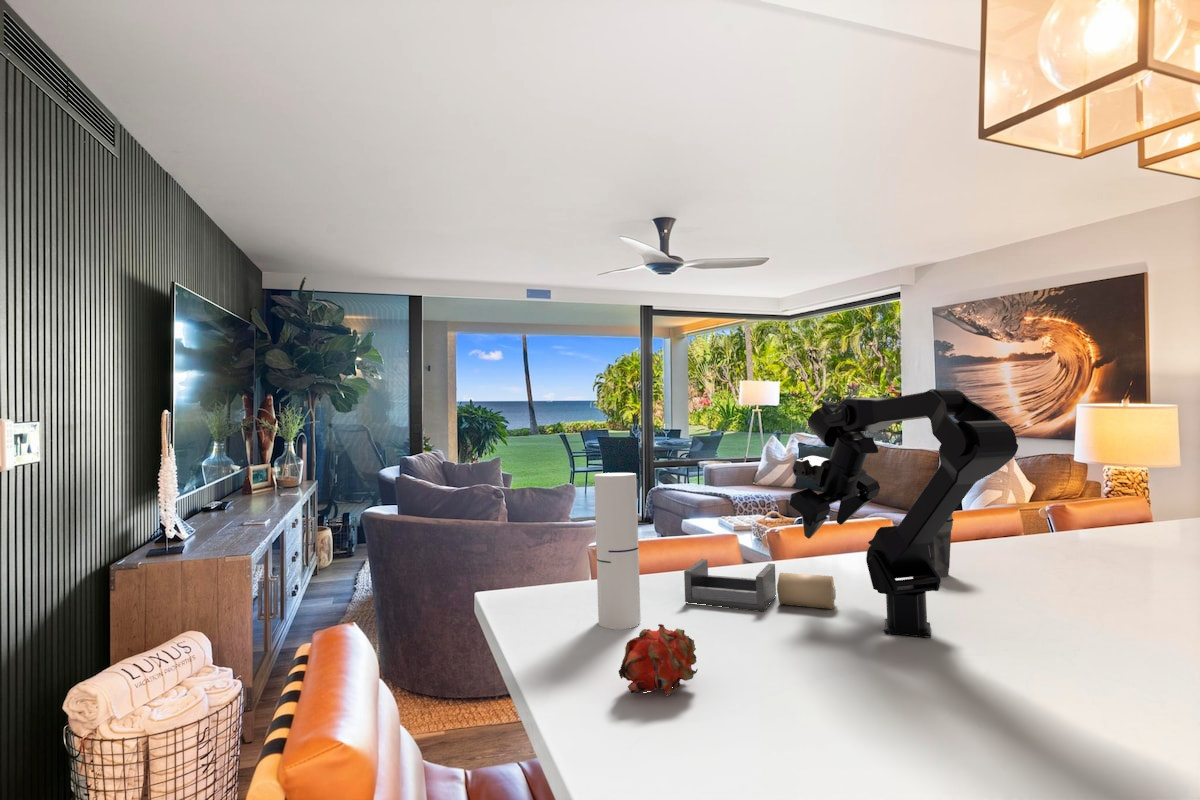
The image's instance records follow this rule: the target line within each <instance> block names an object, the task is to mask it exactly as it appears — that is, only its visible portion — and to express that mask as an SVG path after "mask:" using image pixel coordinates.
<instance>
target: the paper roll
mask: <svg viewBox="0 0 1200 800" xmlns="http://www.w3.org/2000/svg"><path fill="white" fill-rule="evenodd" d="M777 579H778V580H777V584H776V594H777V599H778V603H779V605H783V604H786V605H785V606H794V605H797V606H796V607H805V606H806V608H819V609H827V610H828V609H829V610H833V609H834V607H835V600H836V598H837V597H836V596H837V592H836V591H837V589H836V585H835V581H834V576H833V575H820V574H808V573H807V574H806V573H792V572H791V573H790V572H780V573H779V574H778V578H777Z"/></svg>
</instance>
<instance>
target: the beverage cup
mask: <svg viewBox="0 0 1200 800" xmlns="http://www.w3.org/2000/svg"><path fill="white" fill-rule="evenodd" d="M953 522H954V518H953V513H952V514H951V516H950V517H949V518H948V520H947V521H946V522H945V524H944V525H943V526H942V528H941V529H940V530H939V531H938V533H937V534H936V535H935V537H934V538H933V539H932V541H931V542H930V544H929V548H930V554H931V557H930V560H929V562H930V563H931V565H932V566H933V568H934V569H935V571H936V572H937V574H938V576H939V577H940V578H947V577H949V576H950V575H949V574H950V573H949V572H950V566H951V565H950V563H951V543H952V542H951V540H952V539H951V538H952V530H953V525H954V523H953Z"/></svg>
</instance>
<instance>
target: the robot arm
mask: <svg viewBox="0 0 1200 800" xmlns="http://www.w3.org/2000/svg"><path fill="white" fill-rule="evenodd" d="M840 404H841V405H840V406H838V405H836V403H835V402H833V401H823V402H822V404H821V406H820V407H817V409H815V410H814V411H813V412H812V413H811V415H809V416H808V418H807V426H808V428H809V430H811V432H813V434H815V436H816V437H817V438H818V439H820V441H821V442H822V443H823V444H824V445H825V446H826V447H829V448H832V451H831V454H830V456H829V458H826V457H823V456H817V455H809V456H806V457H801V458H798V459H796V460H795V461H794V464H793V466H792V472H793V475H794V476H796V477H799V478H800V479H807V480H811V481H813V485H814V486H815V487H817V488H821V491H822V493H817V492H815V491H814V490H813V489H811V488H810V487H807V488H803V489H801V490H798V491H795V492H793V493H791V494H790V498H789V501H788V504H789V506H790V507H792V508H793V509H794V510H796V511H797V512H798V513H800V514H801V517H802V526H803V534H804V537H805V538H807V539H809V540H810V539H811V538H812V537H813V536H814V535H815V534H816V533H817V531H819V529H820V528H821V527H822V526H823V525H824V524H825V522H826V521H827V519H828V518H829V517H827V516H828V515H829V514H830V512H831V506H830V505H832V504H834V503H838V502H839V501H840V502H839V507H838V512H837V516H836V523H837V524H839V525H840V526H841V525H843V524H845V523H846V521H848V520H849V519H850V518H852V516H854V515H855V514H856V513H857V512H859V510H862V508H863V507H864V506H866V505H867V504H868V503H870V502H871V501H872V500H873V498H875V497H878V496H879V492H880V490H881V487H880V483H879V481H878V480H876V479H875V478H873V477H871V476H870V475H868V474H867V472H868V471H867V470H865V469H863V468H864V465H865V464H866V463H865V462H866V460H867V456H868V454H879V447H878V445H877V444H876V442H875V441H874V437H871V436H870V437H869V436H867V435H866V433H864V432H879V431H881V430H882V431H883V430H885V429H887V428H889V427H892V425H893V424H895V423H898V422H904V421H910V420H911V421H912V420H919V419H929V420H930V426H931V430H932V431H931V433H932V435H933V436H934V437H935V438H936V440H937V441H938V442H939V443H940V445H939V448H938V453H939V459H940V460H939V461H940V464H939V467H938V468H937V469H936V471H935V473H934V474H933V475H932V476H931V478H930V480H929V481H928V483H927V484H926V486H925V487H924V489H923V490H922V491H921V493H920V494H919V496H918V497H917V498H916V499H915V502H914V503H913V505H911V508H909V510H908V512H907V513H906V514H905V516H904V518H903V519H902V521H900V523H899V525H892V526H891V525H889V526H880V527H879V528H878V529H877V530H876V532H875V534H874V537H873V538H872V539H871V540H869V541H868V542H867V543H868V544H869V546H868V549H867V551H866V558H865V560H866V561H865V563H866V565H867V570H868V573H869V577H870V582H871V584H872V585H871V586H872V588H873V590H875V591H877V593H878V594H882V595H883V594H884V595H885V602H886V618H885V619H884V626H883V633H884V634H885V633H886V634H891V635H892V634H893V635H903V636H904V635H905V636H915V637H923V638H931V636H932V635H931V623H930V622H928V614H927V613H928V612H927V610H928V609H927V592H932V591H933V592H938V591H939V590H940V585H941V582H942V579H941V577H939V576H938V574H937V572H936V571H935V569H934V568H933V566H932V565H931V563H930V562H929V560H930V557H931V554H930V548H929V544H930V542H931V541H932V539H933V538H934V537H935V535H936V534H937V533H938V531H939V530H940V529H941V528H942V526H943V525H944V524H945V522H946V521H947V520H948V518H949V517H950V516H951V514H952V515H953V513H954V512H955V511H956V509H957V508H958V507H959V505H960V504H961V502H963V500H964V498H965V497H966V496H967V495H968V493H969V492H970V491H971V490H972V488H973V487H974V485H975V484H976V483H977V482H979V481H981V480H983V479H984V478H986V477H988V476H990V475H993V474H994V473H995V472H997V471H999V470H1001V469H1002V468H1003V467H1005V465H1006V464H1007V463H1008V462H1010V461H1012V459H1013V458H1014V457H1015V456H1016V454H1017V452H1018V449H1019V444H1018V439H1017V436H1016V433H1015V431H1014V430H1013V428H1012V426H1011V425H1010V424H1008V423H1007V422H1006V421H1003V420H1001V418H999V416H998V415H996V414H995V413H994V412H992V411H991V410H989V409H987V408H985V407H984V406H982V405H980V404H978V403H976V402H974V401H973V400H971V399H970V398H968V396H966V394H965V393H964V392H962V391H960V390H958V389H956V388H932V389H928V390H927V391H924V392H917V393H913V394H912V393H911V394H906V395H902V396H901V395H900V396H895V397H890V398H888V397H887V398H884V397H856V398H855V397H854V398H853V397H851V398H844V399H843V400H841V402H840ZM951 417H952V418H954V419H955V420H956V421H957V422H955V421H954V420H953V419H952V418H951ZM904 578H907V579H904ZM897 579H898V580H897Z"/></svg>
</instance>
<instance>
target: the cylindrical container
mask: <svg viewBox="0 0 1200 800" xmlns="http://www.w3.org/2000/svg"><path fill="white" fill-rule="evenodd" d="M593 476H594V481H593V482H594V483H593V484H594V507H595V508H594V509H595V510H594V513H595V514H594V517H595V518H594V519H595V544H596V545H595V546H596V548H595V550H596V576H597V577H596V579H597V582H596V583H597V587H596V588H597V609H598V610H597V617H598V625H599V626H600V627H602V628H604V629H607V630H608V629H610V630H627V629H626V628H628V629H631V628H630V627H633V628H635V627H634V626H636V627H638V626H639V625H638V624H641V623H642V622H641V619H642V617H641V613H642V612H641V593H640V591H641V587H640V585H641V584H640V557H639V555H640V553H639V552H640V551H639V525H638V524H639V523H638V522H639V521H638V520H639V519H638V492H637V490H638V488H637V473H635V472H634V473H633V472H604V473H596V474H594V475H593ZM640 622H641V623H640ZM637 625H638V626H637Z"/></svg>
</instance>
